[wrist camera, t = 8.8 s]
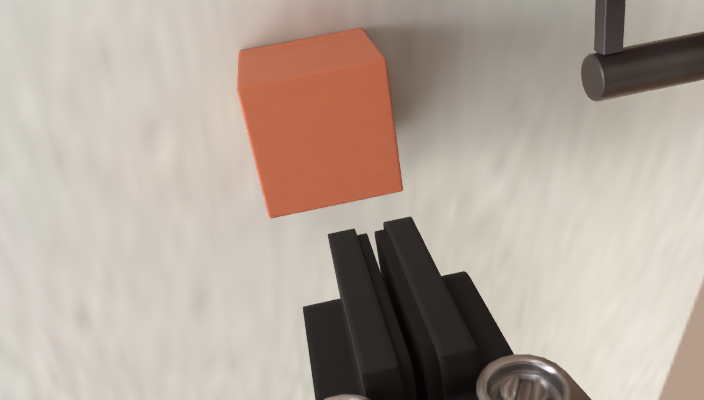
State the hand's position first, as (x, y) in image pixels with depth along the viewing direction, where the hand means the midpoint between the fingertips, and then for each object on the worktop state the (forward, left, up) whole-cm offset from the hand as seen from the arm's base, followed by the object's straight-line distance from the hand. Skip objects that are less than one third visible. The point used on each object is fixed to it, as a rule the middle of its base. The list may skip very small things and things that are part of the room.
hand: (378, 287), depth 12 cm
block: (0, 0, -13) cm, 13 cm away
